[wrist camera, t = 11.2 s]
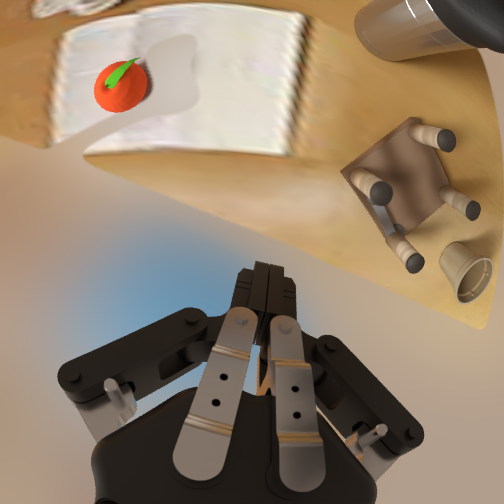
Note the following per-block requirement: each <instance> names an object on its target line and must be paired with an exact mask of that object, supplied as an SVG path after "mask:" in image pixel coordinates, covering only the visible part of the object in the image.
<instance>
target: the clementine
mask: <svg viewBox="0 0 504 504" xmlns="http://www.w3.org/2000/svg"><path fill="white" fill-rule="evenodd" d="M140 58H141V57H140ZM137 59H139V58H135V59H132V60H130V61H121V62H116V63H113V64H111V65H109V66H108V67H107V68H105V69H104V70H103V71H102V72H101V73H100V74H99V76H98V78H97V80H96V83H95V86H94V95H95V99H96V101H97V103H98V104H99V105H100V106H101V107H102V108H103V109H105V110H106V111H110V112H115V113H118V112H124V111H127V110H130V109H131V108H133V107H135V106H136V105H137V104H138V103H139V102H140V101H141V100H142V98H143V97H144V95H145V92H146V89H147V76H146V74H145V72H144V70H143V69H142V68H141V67H140V66H139V65H137V64H135V63H133V62H134V61H136V60H137Z"/></svg>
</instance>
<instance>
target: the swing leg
mask: <svg viewBox="0 0 504 504" xmlns="http://www.w3.org/2000/svg"><path fill="white" fill-rule="evenodd" d="M365 198H366V200H367V201H368V202H369V203H371V205H372V207H373V209H374V211H375V212H376V214H377V216H378V218H379V220H380V222H381V224H382V226H383V228H384V230H385V232H386V234H387V235H386V239H385V240H386V243H387V244H388V246H389V247H390V248H391V249H392V251H393V252H394V253H395V254H396V255H397V257H398V258H399V259H400V260H401V262H402V263H403V264H404V266H405V267H406V269H407V270H408V271H409V272H410V273H412V274H415V273H417V272H419V271H420V270H421V269H422V268H423V266H424V263H425V260H424V258H423V257H422V255H421V254H419V253H418V252H417V250H416V249H415V248H414V247H413V246H412V245H411V244H410V243H409V242H408V241H407V240H406V239H405V238H404V237H403V236H402V235H401V234H400V233H399V232H398V231H397V230H395V229H394V226H393V224H392V222H391V220H390V218H389V216H388V214H387V212H386V210H385V208H384V206H378V205H376V204H375V203H374V202H373V201H372V200H371V199H370V198H369V197H367V196H366V195H365Z"/></svg>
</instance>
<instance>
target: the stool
mask: <svg viewBox="0 0 504 504" xmlns="http://www.w3.org/2000/svg"><path fill="white" fill-rule="evenodd" d="M455 145H456V138H455V135H454V133H453V132H452V131H450V130H447V129H441V128H437V127H432V126H427V125H422V124H421V123H420V121H419V120H418V118H415V117H410V118H408V119H407V120H406V121H404V122H403V123H402V124H400V125H399V126H398V127H397V128H395V129H394V130H393V131H391V132H390V133H389V134H387V135H386V136H385V137H384V138H382V139H381V140H380V141H378V142H377V143H376V144H374V145H373V146H372V147H371V148H369V149H368V150H367V151H365V152H364V153H363V154H362V155H360V156H359V157H358V158H356V159H355V160H354V161H353V162H351V163H350V164H349V165H347V166H346V167H345V168H344V169H342V170H341V171H340V172H341V173H342V175H343V176H344V178H345V179H346V180H347V182H348V183H349V185H350V186H351V187H352V189H353V190H354V192H355V193H356V194H357V196H358V197H359V199H360V200H361V202H362V203H363V205H364V206H365V208H366V209H367V211H368V212H369V214H370V215H371V217H372V218H373V220H374V222H375V223H376V225H377V226H378V228H379V230H380V231H381V233H382V234H383V236H384V238H385V239H386V235H387V234H386V232H385V230H384V228H383V226H382V224H381V222H380V220H379V218H378V216H377V214H376V212H375V211H374V209H373V207H372V205H371V203H369V202H368V201H367V200H366V198H365V195H366V196H367V197H369V198H370V199H371V200H372V201H373V202H374V203H375V204H376V205H378V206H384V208H385V210H386V212H387V214H388V216H389V218H390V220H391V222H392V224H393V226H394V229H395V230H397V231H398V232H399V233H400V234H401V235H402V236H403V237H404V236H405V235H407V234H408V233H409V232H410V231H412V230H413V229H414V228H415V227H417V226H418V225H419V224H420V223H422V222H423V221H424V220H425V219H426V218H428V217H429V216H430V215H431V214H432V213H434V212H435V211H436V210H437V209H438V208H440V207H441V206H442V205H443V204H444V203H447V204H448V205H450V206H451V207H453V208H454V209H456V210H457V211H459V212H460V213H461V214H463V215H464V216H466V217H467V218H468V219H469V220H471V221H474V220H476V219H477V218H478V216H479V214H480V210H481V208H480V204H479V203H478V202H476V201H474V200H472V199H470V198H469V197H467V196H465V195H464V194H462V193H460V192H459V191H457V190H455V189H453V188H452V187H451V186H450V184H449V181H448V179H447V177H446V174H445V172H444V170H443V167H442V165H441V163H440V161H439V158H438V156H437V154H436V152H435V150H434V148H433V147H435V148H437V149H440V150H442V151H445V152H451V151H453V150H454V148H455Z"/></svg>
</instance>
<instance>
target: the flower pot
mask: <svg viewBox="0 0 504 504" xmlns="http://www.w3.org/2000/svg"><path fill="white" fill-rule="evenodd" d="M440 267H441V269H442V270H443V272H444V273H445V275H446V277H447V278H448V280H449V282H450V283H451V285H452V287H453V288H454V293H455V297H456V300H457V301H458V303H460V304H469V303H471V302H473V301H475V300H476V299H477V298H478V297H479V296H480V295H481V294H482V293H483V292H484V291H485V290H486V288H487V287H488V285H489V283H490V281H491V279H492V275H493V270H494V267H493V263H492V261H491V259H489V258H487V257H483V256H479V255H477V254H476V253H474V252H473V251H471V250H469V249H468V248H466V247H465V246H463V245H462V244H460V243H457V242H455V243H452V244H450V245H449V246H447V247H446V248H445V250H444V253H443V255H442V256H441V258H440Z"/></svg>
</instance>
